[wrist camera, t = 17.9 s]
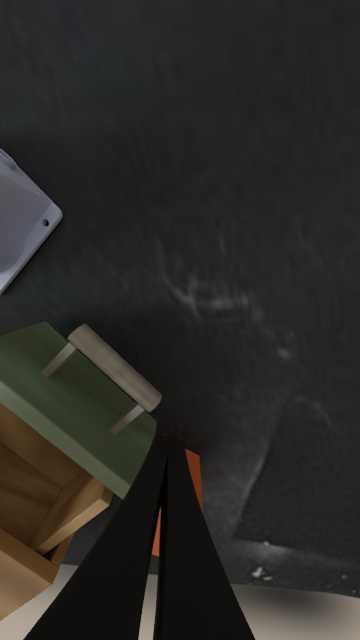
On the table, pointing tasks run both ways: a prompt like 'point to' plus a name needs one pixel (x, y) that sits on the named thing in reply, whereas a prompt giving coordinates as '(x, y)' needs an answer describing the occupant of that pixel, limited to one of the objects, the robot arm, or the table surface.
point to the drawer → (67, 431)
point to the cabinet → (25, 571)
